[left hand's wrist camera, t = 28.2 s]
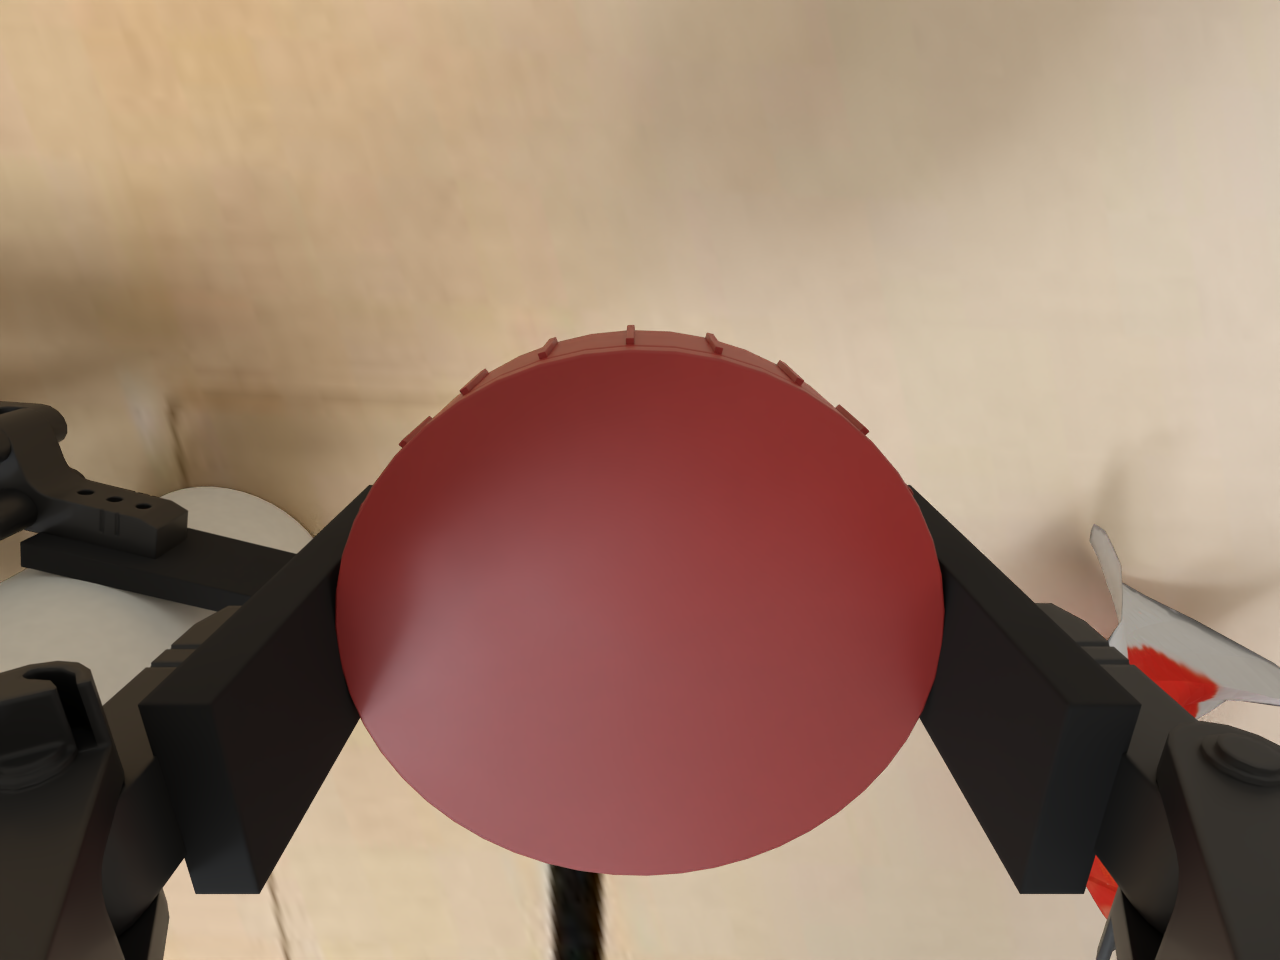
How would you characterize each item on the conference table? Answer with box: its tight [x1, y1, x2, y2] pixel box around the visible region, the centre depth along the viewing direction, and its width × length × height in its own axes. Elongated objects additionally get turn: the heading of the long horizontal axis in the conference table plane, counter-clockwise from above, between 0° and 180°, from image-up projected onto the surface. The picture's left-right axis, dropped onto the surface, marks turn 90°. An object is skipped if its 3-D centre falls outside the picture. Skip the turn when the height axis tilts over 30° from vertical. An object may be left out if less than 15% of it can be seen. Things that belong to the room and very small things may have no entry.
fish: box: [1086, 524, 1280, 919], centre depth 25 cm, size 11×16×10 cm
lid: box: [335, 325, 945, 876], centre depth 11 cm, size 9×9×2 cm
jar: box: [0, 487, 313, 706], centre depth 19 cm, size 8×8×17 cm
